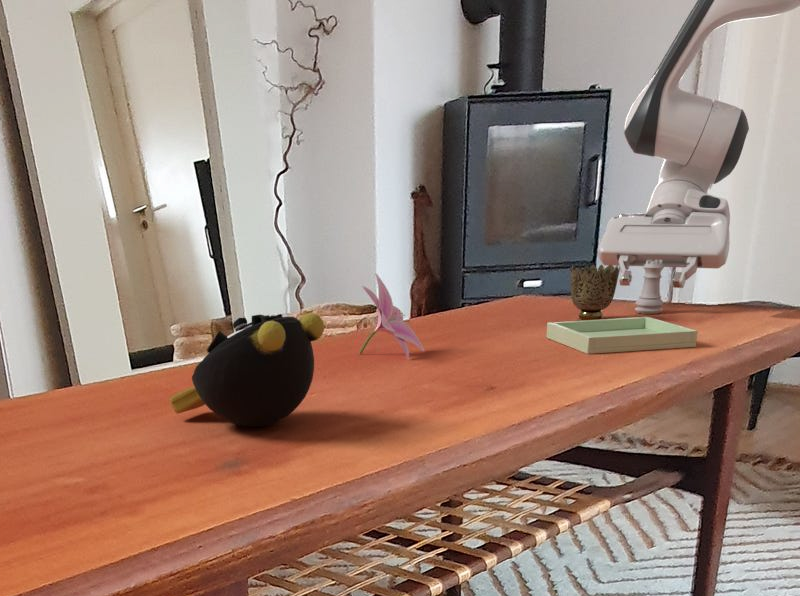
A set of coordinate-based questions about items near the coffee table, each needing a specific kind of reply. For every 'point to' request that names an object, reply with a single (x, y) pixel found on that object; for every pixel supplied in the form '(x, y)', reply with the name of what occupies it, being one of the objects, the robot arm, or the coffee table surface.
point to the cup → (593, 289)
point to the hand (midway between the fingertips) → (650, 284)
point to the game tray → (621, 335)
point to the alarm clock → (255, 370)
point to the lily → (391, 319)
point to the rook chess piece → (651, 289)
